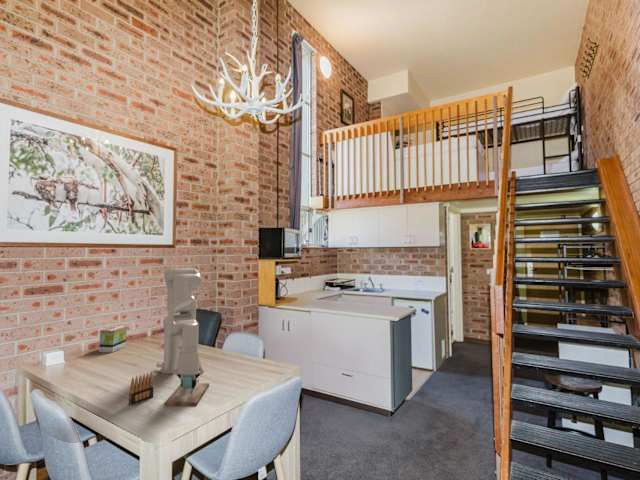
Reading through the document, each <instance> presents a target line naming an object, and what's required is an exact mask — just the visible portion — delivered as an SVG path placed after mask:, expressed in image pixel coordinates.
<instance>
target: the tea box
mask: <svg viewBox="0 0 640 480" xmlns="http://www.w3.org/2000/svg"><path fill="white" fill-rule="evenodd" d="M127 331H128V326H127V325H113V326H109V327H106V328H104V329H100V330H99V340H98V341H99V344H98V345H99V346H98V352H99V353H114V352H116V351H119V350H121V349H123V348H125V347H126V346H127V333H128V332H127Z"/></svg>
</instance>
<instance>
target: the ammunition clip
mask: <svg viewBox="0 0 640 480" xmlns="http://www.w3.org/2000/svg"><path fill="white" fill-rule="evenodd" d="M130 382H131V383H130V389H129V393H128V394H129V397H128V405H129V406H134V405H136V403H137V404H139V403H142V402H144V401H147V400H150V399H152V398H154V378H153V371H150V374H149V372H147V373H146V374H145V373H144V374H143V375H141V374H140V375H139V377H138V376H136V377H135V378H134V377H132V378H131V381H130Z"/></svg>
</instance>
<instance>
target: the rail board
mask: <svg viewBox="0 0 640 480" xmlns="http://www.w3.org/2000/svg"><path fill="white" fill-rule="evenodd" d="M209 386H210V383H208V382H204V383H203V382H200V376H199V377H198V378H197V379H196V386H195V388H194V389H193V390H192V392H191V388H182V386H181V383H180V384H179V385H178V386H177V387H176V389H175V390H174V391H173V392H172V394H171V395H170V396H169V397H168V398H167V399H166V401H164V404H163V405H164V406H163V407H186V406H187V407H190V406H191V407H193V406H194V407H195V406H198V404H199V403H200V401H201V400H202V399H203V398H202V397H204V395H205V393H206V391H207V390H208V389H209Z"/></svg>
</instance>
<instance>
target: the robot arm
mask: <svg viewBox="0 0 640 480" xmlns="http://www.w3.org/2000/svg"><path fill="white" fill-rule="evenodd" d="M163 273H164V274H163V278H164V279H163V280H164V283H165V286H166V288H167V289H166V290H167V291H166V310H167V312H168V313H167V316H166V317H164V319H163V320H162V325H163V333H164V334H163V335H164V338H163V339H164V342H163V343H164V344H163V345H164V348H163V361H162V362H157V363H155V364H156V365H155V366H156V367H157V368H160V373H161V374H166V375H169V374H172V375H173V374H174V375H175V376H177V378H179V380H180V384H181V386H182V385H183V377H184V375H186V374H192V375H193V380H192V389H194V387H195V386H196V379H197V378H198V377H199V378H200V376H202V375H203V374H204V373H205V371H204V369H203V367H202V363H201V354H200V351H199V330H200V329H199V322H198V320H197V299H196V297H194V295H193V292H192V290H198V289H201V288H202V286H203V278H202V274H201V273H200V272H199V271H198V269H197V268H194V267H170V268H167V269H166V270H164V272H163ZM176 313H177V314H176ZM178 313H179V314H178ZM180 313H181V314H180ZM181 336H182V337H181Z"/></svg>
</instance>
